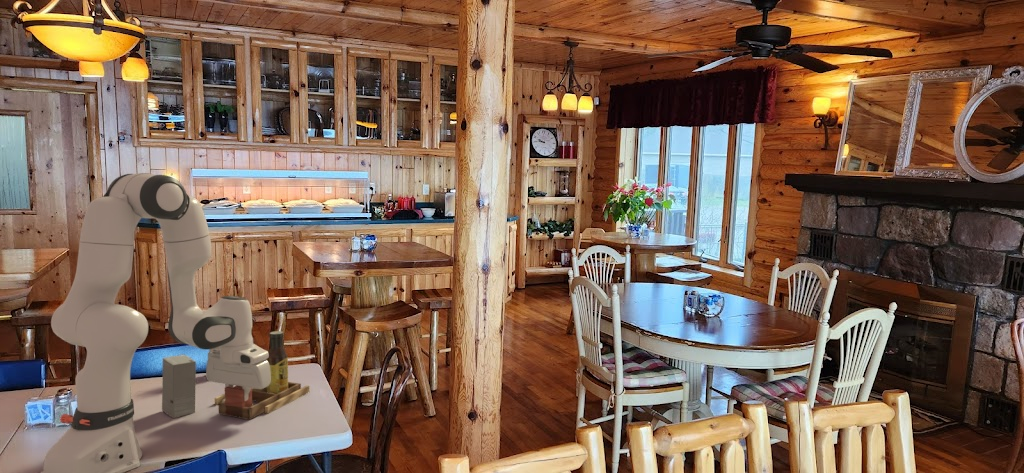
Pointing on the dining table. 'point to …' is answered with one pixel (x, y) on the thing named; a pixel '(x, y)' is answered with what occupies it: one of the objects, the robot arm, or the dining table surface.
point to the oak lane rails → (277, 403)
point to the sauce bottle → (277, 364)
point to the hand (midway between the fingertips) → (238, 399)
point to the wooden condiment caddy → (244, 409)
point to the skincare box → (178, 385)
